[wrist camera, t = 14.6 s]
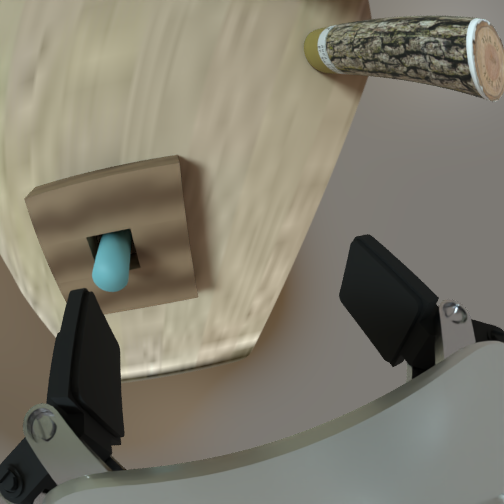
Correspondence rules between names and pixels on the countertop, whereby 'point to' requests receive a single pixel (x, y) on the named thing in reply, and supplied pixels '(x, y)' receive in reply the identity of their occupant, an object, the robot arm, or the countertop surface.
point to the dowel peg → (113, 261)
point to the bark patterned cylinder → (415, 52)
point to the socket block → (114, 219)
